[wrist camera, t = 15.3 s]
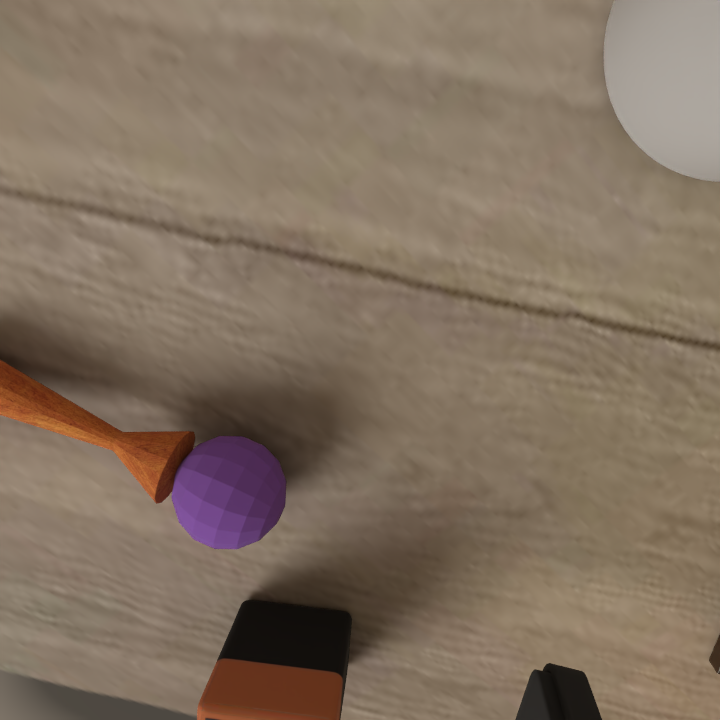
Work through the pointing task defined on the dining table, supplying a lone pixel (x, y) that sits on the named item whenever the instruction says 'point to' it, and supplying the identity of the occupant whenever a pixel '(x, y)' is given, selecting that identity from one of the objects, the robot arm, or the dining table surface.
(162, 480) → the kendama
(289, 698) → the battery
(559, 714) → the robot arm
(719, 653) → the rod stand
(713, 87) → the cylinder vase
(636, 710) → the dining table surface
